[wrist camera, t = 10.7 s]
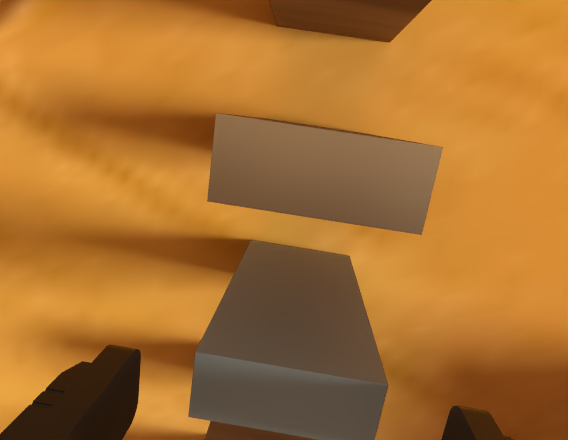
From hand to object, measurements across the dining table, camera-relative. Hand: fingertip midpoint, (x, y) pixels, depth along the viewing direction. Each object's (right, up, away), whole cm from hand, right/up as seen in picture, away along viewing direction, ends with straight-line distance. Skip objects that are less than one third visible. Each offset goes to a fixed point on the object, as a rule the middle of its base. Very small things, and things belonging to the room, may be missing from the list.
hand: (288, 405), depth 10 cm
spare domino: (+1, +2, +10) cm, 10 cm away
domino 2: (+1, +8, +8) cm, 12 cm away
